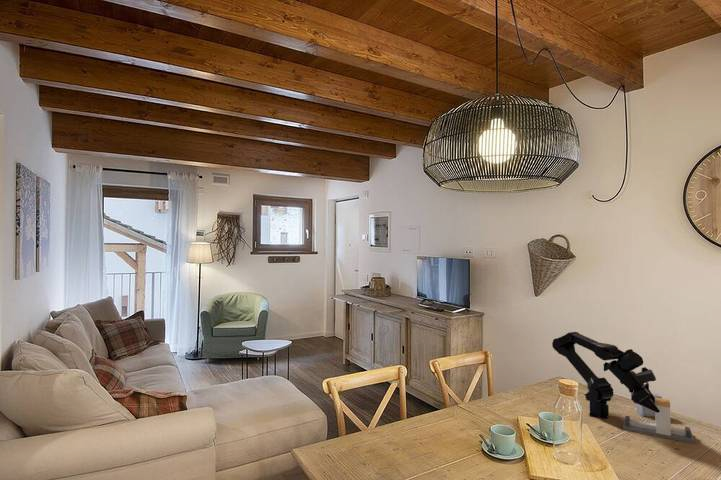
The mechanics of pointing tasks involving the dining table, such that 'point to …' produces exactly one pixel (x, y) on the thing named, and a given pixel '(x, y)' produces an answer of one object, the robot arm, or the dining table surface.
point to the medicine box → (645, 411)
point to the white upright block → (663, 416)
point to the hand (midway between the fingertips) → (658, 407)
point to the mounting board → (651, 430)
